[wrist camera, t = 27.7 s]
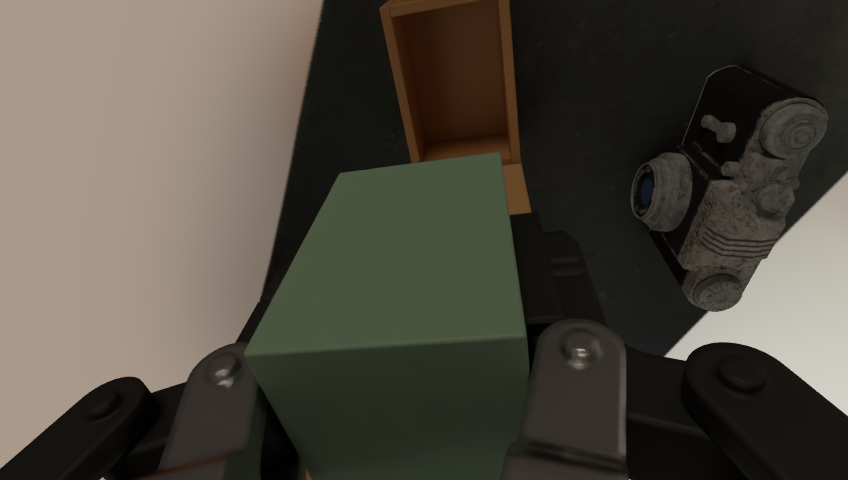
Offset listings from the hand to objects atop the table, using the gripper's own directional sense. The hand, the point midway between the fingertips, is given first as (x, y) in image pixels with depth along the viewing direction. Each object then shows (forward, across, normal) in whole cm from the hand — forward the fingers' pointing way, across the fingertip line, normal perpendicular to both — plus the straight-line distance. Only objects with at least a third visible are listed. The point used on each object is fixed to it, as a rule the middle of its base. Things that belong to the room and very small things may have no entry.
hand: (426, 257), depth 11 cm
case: (+25, 0, +2) cm, 25 cm away
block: (+1, 0, 0) cm, 1 cm away
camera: (+25, -16, +11) cm, 31 cm away
